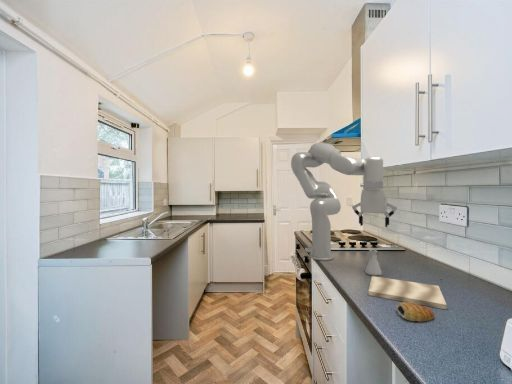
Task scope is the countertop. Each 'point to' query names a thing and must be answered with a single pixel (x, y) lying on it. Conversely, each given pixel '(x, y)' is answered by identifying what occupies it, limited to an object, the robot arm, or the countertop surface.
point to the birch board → (407, 292)
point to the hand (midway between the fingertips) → (373, 226)
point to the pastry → (414, 312)
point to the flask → (373, 265)
